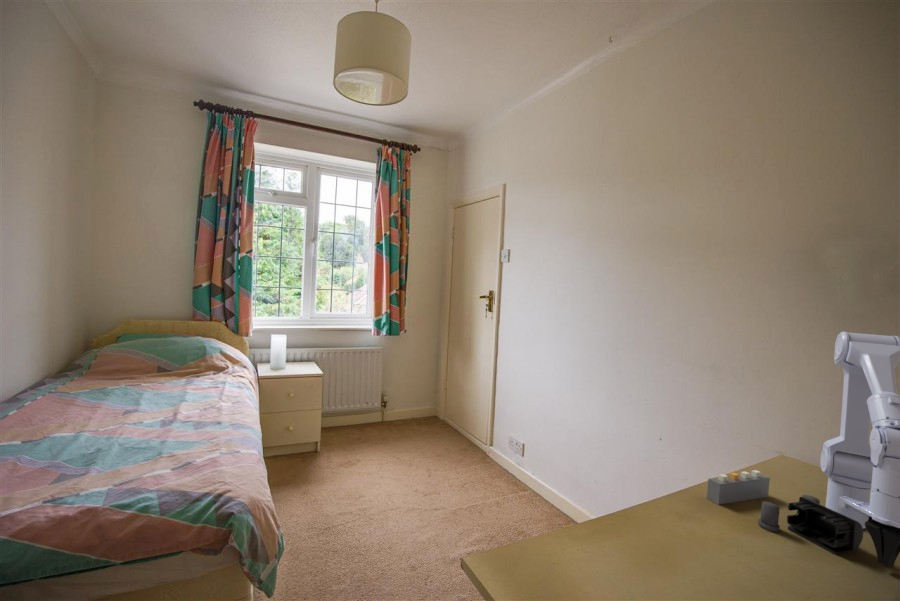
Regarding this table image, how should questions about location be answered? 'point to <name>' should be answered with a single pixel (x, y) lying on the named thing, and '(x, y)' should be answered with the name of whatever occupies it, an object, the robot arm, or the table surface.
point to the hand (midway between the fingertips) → (885, 563)
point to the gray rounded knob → (769, 517)
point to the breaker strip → (737, 487)
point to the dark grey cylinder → (811, 498)
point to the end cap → (824, 527)
